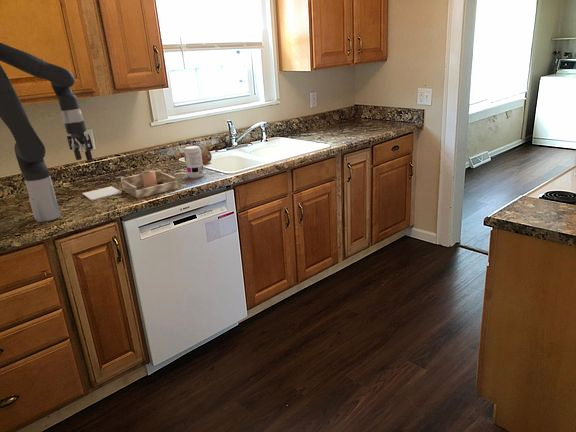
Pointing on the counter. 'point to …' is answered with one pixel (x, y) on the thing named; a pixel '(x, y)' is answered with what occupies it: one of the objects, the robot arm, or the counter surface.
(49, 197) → the robot arm
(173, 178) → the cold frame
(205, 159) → the tin
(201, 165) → the supplement can
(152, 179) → the pot
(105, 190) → the tile
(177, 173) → the counter surface
